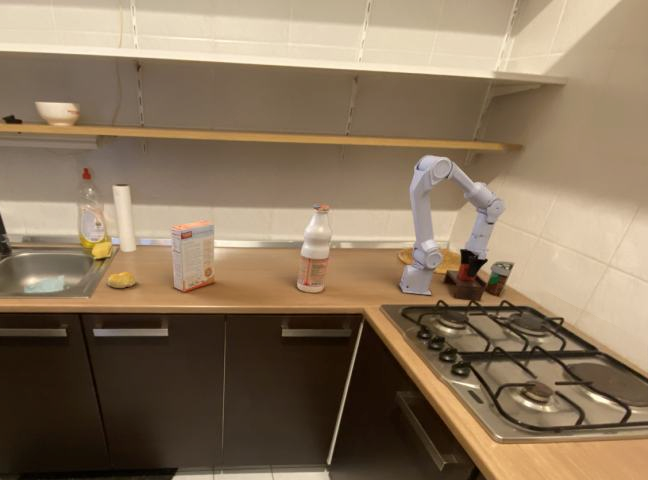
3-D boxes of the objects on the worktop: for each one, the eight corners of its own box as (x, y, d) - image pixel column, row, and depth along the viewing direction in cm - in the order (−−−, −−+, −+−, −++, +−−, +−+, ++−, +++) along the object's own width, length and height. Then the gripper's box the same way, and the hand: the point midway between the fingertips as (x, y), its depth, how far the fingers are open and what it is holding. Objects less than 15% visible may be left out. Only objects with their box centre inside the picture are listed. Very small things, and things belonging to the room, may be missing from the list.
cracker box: (203, 278, 140) (203, 219, 130) (214, 283, 136) (215, 223, 126) (172, 287, 131) (169, 225, 121) (183, 292, 128) (181, 229, 117)
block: (460, 279, 135) (465, 267, 133) (456, 275, 139) (460, 263, 137) (474, 280, 134) (478, 268, 132) (470, 276, 138) (474, 264, 136)
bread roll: (105, 282, 133) (103, 271, 131) (130, 278, 137) (129, 268, 135) (112, 290, 127) (110, 279, 125) (138, 286, 131) (137, 275, 129)
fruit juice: (291, 288, 135) (301, 205, 121) (304, 281, 141) (314, 202, 127) (316, 295, 130) (329, 209, 116) (327, 287, 137) (341, 205, 123)
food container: (485, 284, 147) (495, 258, 142) (504, 288, 143) (514, 262, 138) (479, 292, 138) (489, 266, 133) (498, 297, 135) (509, 270, 130)
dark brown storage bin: (455, 298, 133) (461, 280, 130) (442, 282, 146) (448, 266, 143) (480, 300, 132) (487, 283, 128) (465, 284, 145) (471, 268, 142)
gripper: (502, 241, 122) (486, 281, 129) (485, 230, 134) (472, 268, 141) (478, 239, 123) (464, 279, 130) (464, 229, 135) (451, 266, 142)
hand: (466, 273), depth 136 cm, fingers open, 7 cm apart
